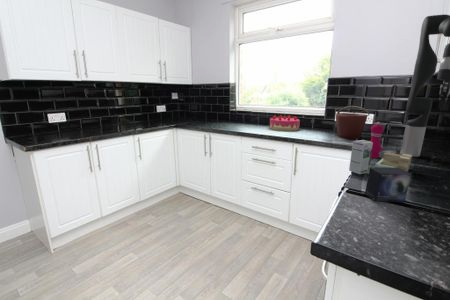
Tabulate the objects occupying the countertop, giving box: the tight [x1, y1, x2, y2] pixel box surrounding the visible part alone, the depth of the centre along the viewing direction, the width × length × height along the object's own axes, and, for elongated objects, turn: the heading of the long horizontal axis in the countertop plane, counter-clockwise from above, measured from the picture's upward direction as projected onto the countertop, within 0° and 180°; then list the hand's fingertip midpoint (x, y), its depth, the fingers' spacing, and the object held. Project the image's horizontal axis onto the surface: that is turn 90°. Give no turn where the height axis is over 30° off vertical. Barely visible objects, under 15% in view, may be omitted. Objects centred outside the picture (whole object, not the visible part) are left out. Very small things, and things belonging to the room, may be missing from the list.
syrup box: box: [348, 139, 373, 175], centre depth 106 cm, size 6×6×14 cm
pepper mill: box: [369, 121, 385, 159], centre depth 132 cm, size 7×7×20 cm
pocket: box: [374, 157, 395, 168], centre depth 115 cm, size 15×8×2 cm, turn 135°
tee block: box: [382, 152, 413, 172], centre depth 112 cm, size 10×10×7 cm
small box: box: [364, 166, 412, 203], centre depth 80 cm, size 11×6×10 cm, turn 90°
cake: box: [269, 114, 301, 132], centre depth 228 cm, size 28×28×12 cm
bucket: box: [335, 105, 371, 140], centre depth 188 cm, size 24×22×25 cm
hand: (441, 108), depth 107 cm, fingers closed
